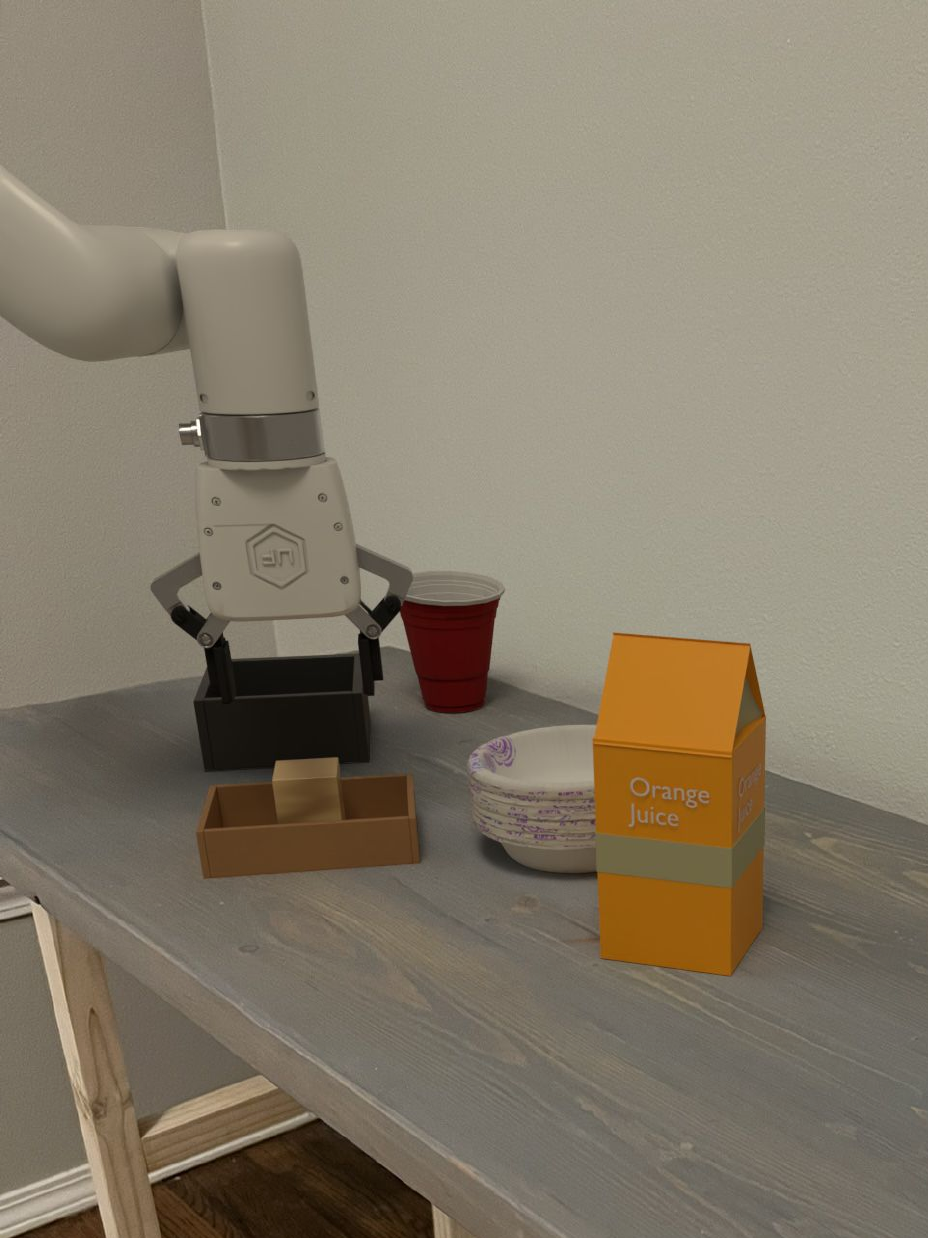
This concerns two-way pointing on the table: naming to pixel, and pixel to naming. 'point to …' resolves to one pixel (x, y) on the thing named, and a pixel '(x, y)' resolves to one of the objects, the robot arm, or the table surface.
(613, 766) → the orange juice
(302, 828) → the box
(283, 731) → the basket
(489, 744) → the paper bowls
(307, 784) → the block
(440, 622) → the plastic cup
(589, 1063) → the table surface
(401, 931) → the table surface
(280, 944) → the table surface
